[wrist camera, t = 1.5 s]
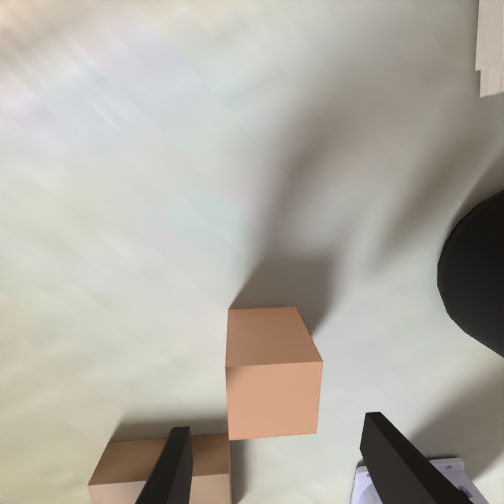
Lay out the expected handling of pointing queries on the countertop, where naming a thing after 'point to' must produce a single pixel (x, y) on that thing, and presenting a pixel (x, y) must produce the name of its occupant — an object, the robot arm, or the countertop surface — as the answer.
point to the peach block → (271, 374)
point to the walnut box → (144, 459)
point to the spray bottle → (490, 47)
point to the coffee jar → (476, 273)
